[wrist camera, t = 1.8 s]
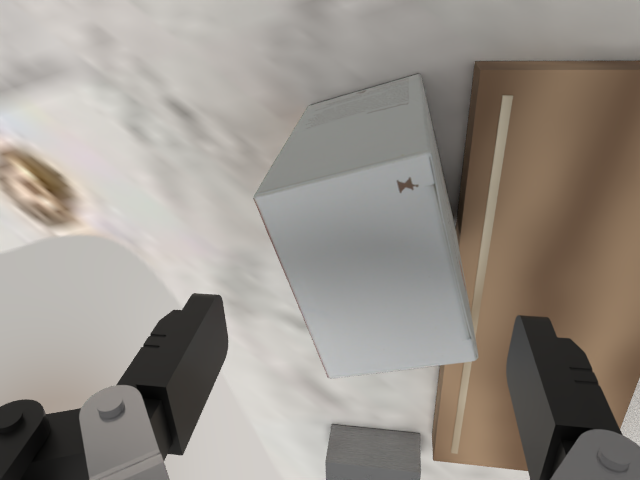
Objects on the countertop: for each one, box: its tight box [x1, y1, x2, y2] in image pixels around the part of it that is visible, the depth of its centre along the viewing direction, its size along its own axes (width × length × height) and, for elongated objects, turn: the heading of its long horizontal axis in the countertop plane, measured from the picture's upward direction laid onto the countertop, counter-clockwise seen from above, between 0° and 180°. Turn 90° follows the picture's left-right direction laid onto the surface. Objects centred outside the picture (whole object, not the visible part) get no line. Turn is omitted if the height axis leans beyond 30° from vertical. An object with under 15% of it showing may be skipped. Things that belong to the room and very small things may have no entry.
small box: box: [253, 74, 478, 379], centre depth 21 cm, size 8×6×10 cm
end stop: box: [326, 424, 421, 480], centre depth 34 cm, size 6×2×3 cm, turn 92°
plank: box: [432, 61, 640, 471], centre depth 26 cm, size 10×24×2 cm, turn 2°
